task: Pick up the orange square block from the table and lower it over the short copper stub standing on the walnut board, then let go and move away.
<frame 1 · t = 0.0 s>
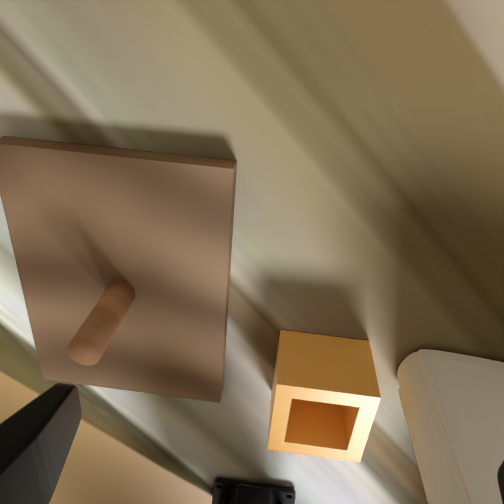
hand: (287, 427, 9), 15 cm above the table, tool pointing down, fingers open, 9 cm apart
peg board: (129, 280, 26), on the table
white flat bottle: (477, 376, 27), on the table
orange square block: (317, 367, 28), on the table
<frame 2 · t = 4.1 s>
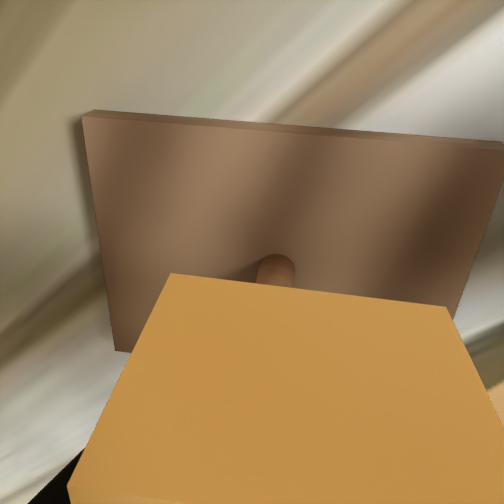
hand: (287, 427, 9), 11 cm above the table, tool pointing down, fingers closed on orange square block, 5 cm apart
peg board: (278, 256, 20), on the table
orange square block: (289, 387, 10), point 10 cm above the table, touching gripper
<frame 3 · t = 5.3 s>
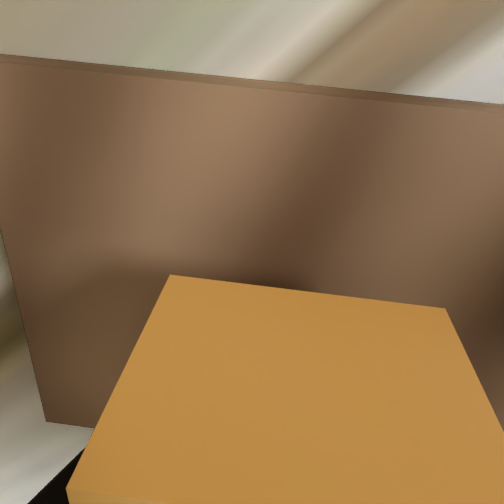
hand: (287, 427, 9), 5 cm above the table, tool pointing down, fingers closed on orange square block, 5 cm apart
peg board: (289, 293, 13), on the table
orange square block: (288, 388, 10), point 4 cm above the table, touching gripper
when the fingers open (3 cm above the table, at t = 6.1 s): orange square block stays where it is, resting on peg board.
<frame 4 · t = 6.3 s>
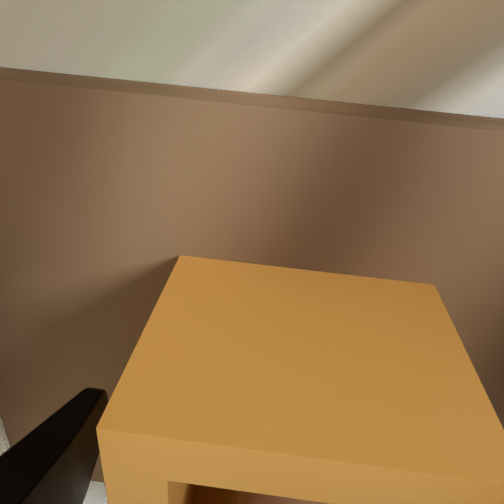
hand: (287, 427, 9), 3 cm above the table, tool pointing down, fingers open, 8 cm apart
peg board: (289, 333, 12), on the table
orange square block: (290, 363, 11), point 1 cm above the table, touching peg board
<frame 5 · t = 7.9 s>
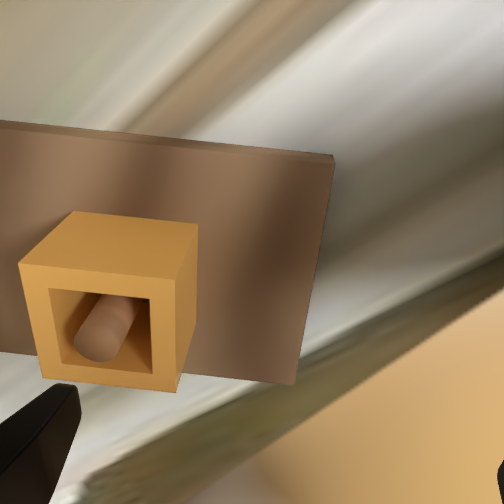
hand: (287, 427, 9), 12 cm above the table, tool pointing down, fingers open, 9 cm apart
peg board: (145, 258, 21), on the table
orange square block: (138, 270, 20), point 1 cm above the table, touching peg board
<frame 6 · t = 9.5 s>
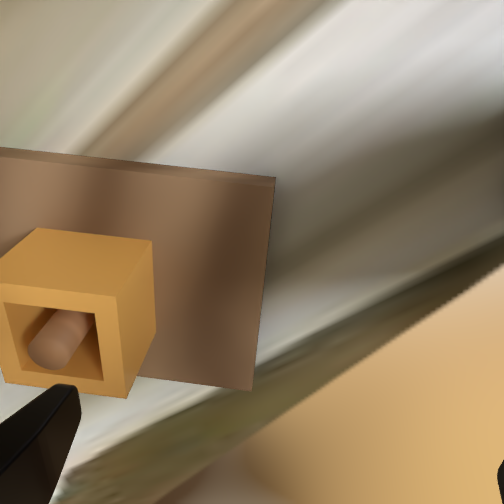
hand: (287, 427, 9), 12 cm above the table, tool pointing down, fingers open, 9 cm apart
peg board: (108, 270, 22), on the table
orange square block: (100, 282, 21), point 1 cm above the table, touching peg board
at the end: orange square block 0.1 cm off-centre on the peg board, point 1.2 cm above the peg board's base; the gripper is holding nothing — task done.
